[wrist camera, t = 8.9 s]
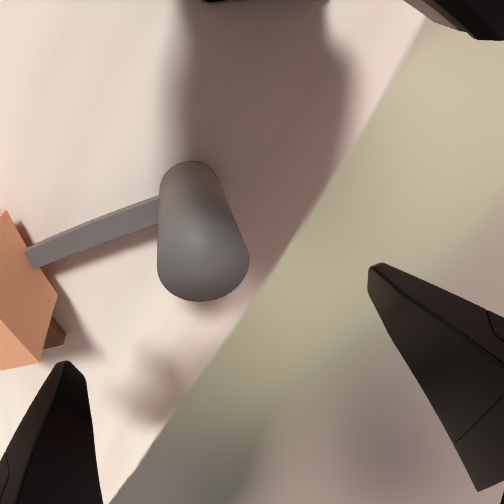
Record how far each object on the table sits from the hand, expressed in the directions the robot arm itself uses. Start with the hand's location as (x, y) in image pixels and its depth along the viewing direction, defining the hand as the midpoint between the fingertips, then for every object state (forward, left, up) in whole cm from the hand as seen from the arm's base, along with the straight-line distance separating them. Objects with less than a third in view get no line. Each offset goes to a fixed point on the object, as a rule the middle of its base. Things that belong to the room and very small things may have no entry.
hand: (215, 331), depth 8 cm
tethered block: (+7, 0, -9) cm, 11 cm away
